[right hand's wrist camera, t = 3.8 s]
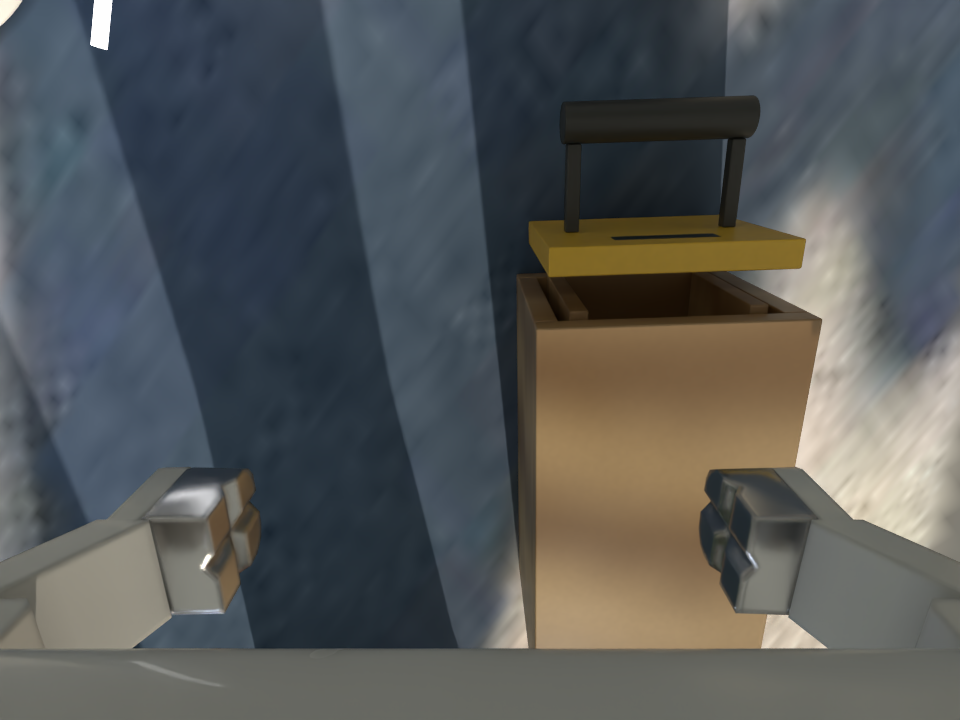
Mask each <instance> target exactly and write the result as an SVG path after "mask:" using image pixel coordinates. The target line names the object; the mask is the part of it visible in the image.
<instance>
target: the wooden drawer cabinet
mask: <svg viewBox="0 0 960 720" xmlns="http://www.w3.org/2000/svg"><path fill="white" fill-rule="evenodd" d="M708 273H710V274H712V275H714V276H716V277H717V278H719V279H721V280H723V281H725V282H727V283H728V284H730V285H732V286H734V287H736V288H738V289H740V290H741V291H743V292H745V293H747V294H749V295H751V296H753V297H754V298H756V299H758V300H760V301H762V302H764V303H765V304H767V305H768V312H767V314H746V315H717V316H689V317H660V318H631V319H602V320H573V321H557V319H556V317H555V315H554V312H553V310H552V308H551V306H550V304H549V302H548V300H547V273H532V274H517V383H518V495H519V570H520V578H521V587H522V595H523V604H524V612H525V621H526V630H527V638H528V647H529V649H761V645H762V639H763V634H764V629H765V623H766V618H767V614H740V613H735V611H734V610H733V608H732V606H731V604H730V602H729V601H728V599H727V597H726V595H725V593H724V592H723V590H722V588H721V586H720V585H719V582H720V576H721V573H720V572H718V571H717V570H715V569H714V568H712V567H711V566H709V564H708V563H707V561H706V559H705V557H704V555H703V552H702V548H701V545H700V538H699V520H700V512H701V511H702V510H703V509H704V508H705V507H706V505H707V504H708V503H709V502H710V499H709V497H708V496H707V494H706V493H705V491H704V487H705V481H706V477H707V475H708V472H709V470H712V469H739V468H777V467H795V463H796V458H797V452H798V447H799V442H800V436H801V431H802V426H803V420H804V415H805V410H806V404H807V399H808V394H809V388H810V383H811V378H812V372H813V367H814V362H815V356H816V351H817V346H818V340H819V335H820V330H821V324H822V319H821V318H819V317H817V316H815V315H813V314H811V313H809V312H807V311H805V310H803V309H801V308H799V307H797V306H795V305H793V304H791V303H789V302H787V301H785V300H783V299H781V298H779V297H777V296H775V295H773V294H771V293H769V292H767V291H765V290H763V289H761V288H759V287H756V286H754V285H752V284H750V283H748V282H746V281H744V280H742V279H740V278H738V277H736V276H734V275H732V274H730V273H728V272H726V271H717V272H708Z"/></svg>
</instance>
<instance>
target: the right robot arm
mask: <svg viewBox="0 0 960 720" xmlns="http://www.w3.org/2000/svg"><path fill="white" fill-rule="evenodd" d="M21 2H22V0H0V26H1V25H2V24H3V23H4V22H5V21H6V20H7V19H8V18H9V17H10V16H11V15H12V14H13V13H14V11H15V10H16V9H17V8H18V6H19V5H20V3H21ZM111 6H112V0H95V2H94V13H93V25H92V36H91V45H93V46H95V47H98V48H102V49H106V50H107V48H108V38H109V27H110V17H111ZM255 491H256V487H255V482H254V477H253V474H252V472H251V471H250V470H249V469H247V468H196V467H194V468H191V467H166V468H160V469H158V470H157V471H156V472H155V473H154V474H153V475H152V476H151V477H150V478H149V479H148V480H146V481H145V482H144V483H143V484H142V485H141V486H140V487H139V488H138V489H137V490H136V491H135V492H134V493H133V494H132V495H131V496H130V497H129V498H128V499H127V500H126V501H125V502H124V503H123V504H122V505H121V506H120V507H119V508H118V509H117V510H116V511H115V512H114V513H113V514H112V515H111V516H110V517H109V518H108V519H107V520H96V521H93V522H91V523H89V524H86V525H84V526H82V527H80V528H77V529H75V530H73V531H70V532H68V533H66V534H64V535H61V536H59V537H57V538H54V539H52V540H50V541H48V542H45V543H43V544H41V545H38V546H36V547H34V548H32V549H29V550H27V551H25V552H22V553H20V554H18V555H16V556H13V557H11V558H9V559H6V560H4V561H2V562H0V720H960V562H958V561H956V560H953V559H951V558H949V557H946V556H944V555H942V554H940V553H937V552H935V551H933V550H931V549H928V548H926V547H924V546H921V545H919V544H917V543H915V542H912V541H910V540H908V539H905V538H903V537H901V536H899V535H896V534H894V533H892V532H890V531H887V530H885V529H883V528H880V527H878V526H876V525H874V524H871V523H869V522H867V521H865V520H853V519H852V518H851V517H850V516H849V515H848V514H847V513H846V512H845V511H844V510H843V509H842V508H841V507H840V506H839V505H838V504H837V503H836V502H835V501H834V500H833V499H832V498H831V497H830V496H829V495H828V494H827V493H826V492H825V491H824V490H823V489H822V488H821V487H820V486H819V485H818V484H817V483H816V482H815V481H814V480H813V479H812V478H811V477H810V476H809V475H808V474H807V473H806V472H805V471H804V470H803V469H800V468H797V467H777V468H739V469H712V470H709V472H708V475H707V477H706V481H705V487H704V491H705V493H706V494H707V496H708V497H709V499H710V502H709V503H708V504H707V505H706V507H705V508H704V509H703V510H702V511H701V512H700V520H699V538H700V545H701V548H702V552H703V555H704V557H705V559H706V561H707V563H708V564H709V566H711V567H712V568H714V569H715V570H717V571H718V572H720V573H721V576H720V582H719V585H720V586H721V588H722V590H723V592H724V593H725V595H726V597H727V599H728V601H729V602H730V604H731V606H732V608H733V610H734V611H735V613H740V614H777V615H789V616H788V617H789V618H790V619H791V620H793V621H794V622H795V623H796V624H798V625H799V626H800V627H801V628H803V629H804V630H805V631H807V632H808V633H809V634H810V635H812V636H813V637H814V638H816V639H817V640H818V641H819V642H821V643H822V644H823V645H825V646H826V647H827V648H828V649H159V648H133V647H134V646H136V645H137V644H138V643H139V642H141V641H142V640H143V639H145V638H146V637H147V636H148V635H150V634H151V633H152V632H154V631H155V630H156V629H157V628H159V627H160V626H161V625H163V624H164V623H165V622H166V621H168V620H169V619H170V618H171V617H172V616H171V615H183V614H218V613H225V611H226V610H227V608H228V606H229V604H230V602H231V601H232V599H233V597H234V595H235V594H236V592H237V590H238V588H239V586H240V585H241V582H240V576H239V573H240V572H242V571H243V570H245V569H246V568H248V567H249V566H251V564H252V562H253V561H254V559H255V557H256V555H257V552H258V548H259V544H260V539H261V519H260V512H259V511H258V510H257V509H256V508H255V507H254V505H253V504H252V503H251V502H250V499H251V497H252V496H253V494H254V493H255Z"/></svg>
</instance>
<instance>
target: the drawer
mask: <svg viewBox="0 0 960 720" xmlns="http://www.w3.org/2000/svg"><path fill="white" fill-rule="evenodd" d="M759 118H760V103H759V100H758V98H757V97H756V96H724V97H694V98H663V99H633V100H603V101H573V102H563V103H562V106H561V112H560V139H561V143H562V144H566V156H565V206H564V220H553V221H530V222H529V244H530V246H531V247H532V249H533V251H534V253H535V254H536V256H537V258H538V259H539V261H540V263H541V264H542V266H543V268H544V269H545V271H546V273H547V300H548V302H549V304H550V306H551V308H552V310H553V312H554V315H555V317H556V319H557V321H573V320H602V319H631V318H660V317H689V316H717V315H746V314H767V312H768V305H767V304H765V303H764V302H762V301H760V300H758V299H756V298H754V297H753V296H751V295H749V294H747V293H745V292H743V291H741V290H740V289H738V288H736V287H734V286H732V285H730V284H728V283H727V282H725V281H723V280H721V279H719V278H717V277H716V276H714V275H712V274H710V273H708V272H717V271H747V270H776V269H800V268H801V267H802V261H803V255H804V249H805V243H806V239H804V238H801V237H797V236H793V235H790V234H786V233H783V232H779V231H776V230H772V229H769V228H765V227H762V226H758V225H755V224H751V223H748V222H744V221H741V220H737V219H736V217H737V209H738V201H739V193H740V185H741V177H742V169H743V161H744V153H745V145H746V139H745V138H749V137H751V136H752V135H753V134H754V132H755V131H756V129H757V126H758V123H759ZM705 139H728V143H727V151H726V160H725V169H724V178H723V187H722V196H721V204H720V213H719V215H700V216H670V217H641V218H611V219H582V220H579V209H580V175H581V144H586V143H615V142H645V141H675V140H705Z"/></svg>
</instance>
